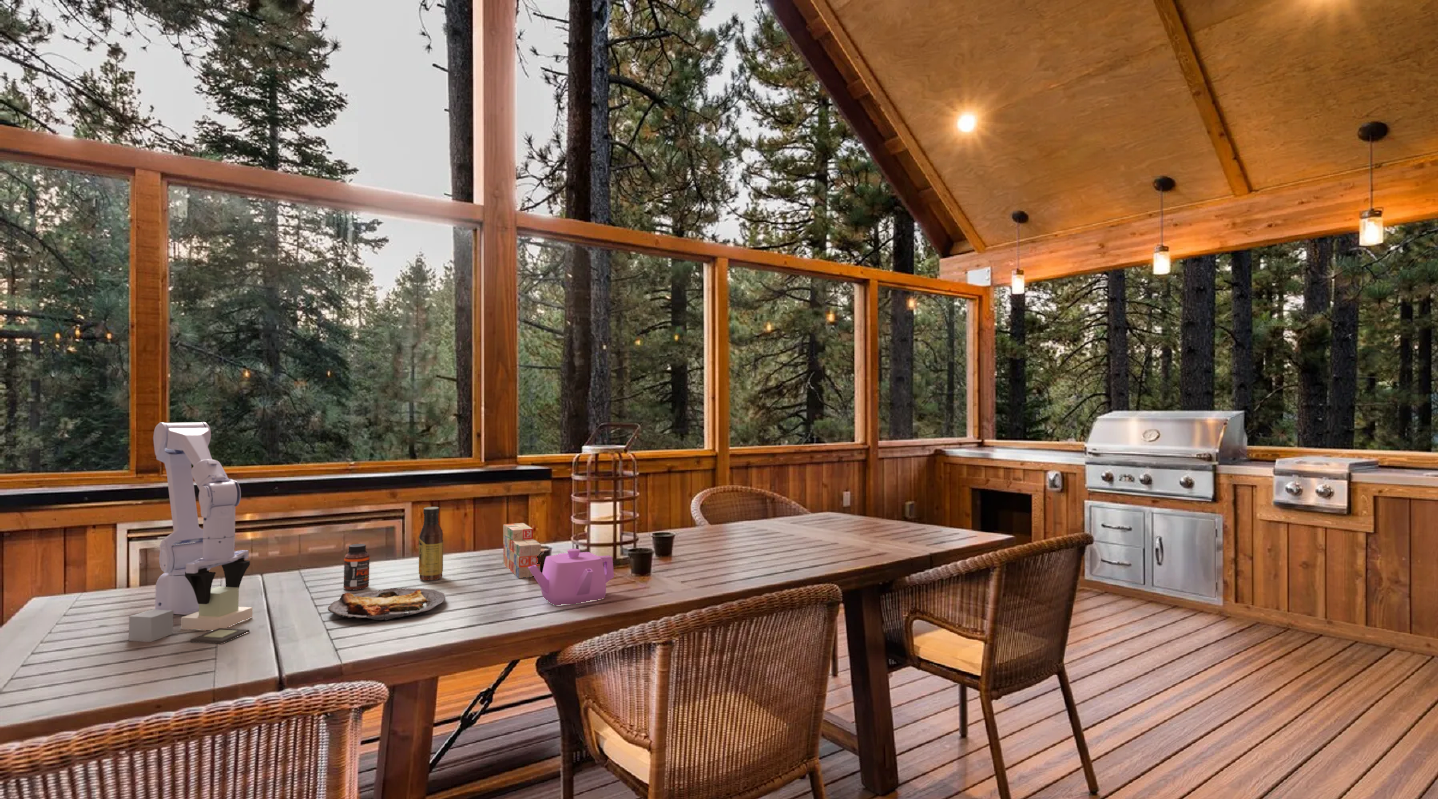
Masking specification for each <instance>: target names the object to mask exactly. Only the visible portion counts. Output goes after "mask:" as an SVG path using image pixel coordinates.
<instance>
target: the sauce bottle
mask: <svg viewBox="0 0 1438 799" xmlns="http://www.w3.org/2000/svg"><path fill="white" fill-rule="evenodd" d="M422 513H423V525H422V528H421V530H420V533H419V535H418V575H419V579H420V581H423V582H424V581H426V582H430V581H431V582H432V581H437V580H440V579H442V577H443V572H444V539H443V538H444V537H443V536H444V533H443V529H442V527H441V526H440V524H439V522H440V520H439V513H440V507H438V506H427V507H424V508H423V510H422Z"/></svg>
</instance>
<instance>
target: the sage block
mask: <svg viewBox="0 0 1438 799" xmlns="http://www.w3.org/2000/svg"><path fill="white" fill-rule="evenodd" d="M239 589H240V587H239V588H237V587H226V586H216V587H211V593H210V601H209V603H208V604H199V611H198V612H199V616H213V617H220V616H223V615H226V614H229V613H232V612H235V611H237V610H238V607H239V601H240V600H239V593H240V590H239Z"/></svg>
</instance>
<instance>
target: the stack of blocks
mask: <svg viewBox="0 0 1438 799" xmlns="http://www.w3.org/2000/svg"><path fill="white" fill-rule="evenodd" d="M502 528H503V529H502V530H503V533H502V538H503V539H502V540H503V542H502V543H503V550H502V551H503V554H502V557H503V558H502V563H503V565H504V566H505V567H506V568H507V569H508V570H509V569H510V570H509V571H510V572H512V574H513V575H515V576H516V577H517V578H518V579H524V578H523V577H526V578H530V577H529V576H533V575H532V573H531V572H530V570H529V568H528V567H530V566H533V565H536V566H537V568H538V569H539V570H540V571H541V563H540V564H537V563H538V558H537V556H538V555H539V554H540V553H541V554H542V544H541V543H539V541H537V540H536V539H534V528H532V527H531V526H529V525H528V524H526V523H524V522H520V523H517V522H516V523H515V522H514V523H506V524H505V523H504V524H503V525H502Z"/></svg>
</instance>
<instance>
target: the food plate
mask: <svg viewBox="0 0 1438 799" xmlns="http://www.w3.org/2000/svg"><path fill="white" fill-rule="evenodd" d="M445 599H446V596H445V592H442V591H438V590H436V589H431V588H424V587H423V588H420V587H419V588H418V587H417V588H416V587H415V588H412V587H407V588H405V587H400V588H399V587H393V588H391V587H390V588H385V589H382V590H381V589H378V590H372V591H371V590H370V591H365V592H359V593H356V594H355V593H354V594H353V593H351V592H344V593H342V594H341V596H340V598H339V599H338V600H335V601H333V602H332V603H330V604H329V606H328V607H327V611H328V612H329V613H332V614H335V616H340V617H343V618H348V619H350V618H353V617H355V619H362V618H366V619H371V620H373V621H374V620H379V621H382V620H384V621H388V620H391V619H395V618H402V617H407V616H410V615H411V616H412V615H414V614H419V613H422V612H426V611H430V610H433V609H434V608H435V607H436V606H438V605H441V603H443V602H444V601H445ZM424 604H425V606H426V607H424Z"/></svg>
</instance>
